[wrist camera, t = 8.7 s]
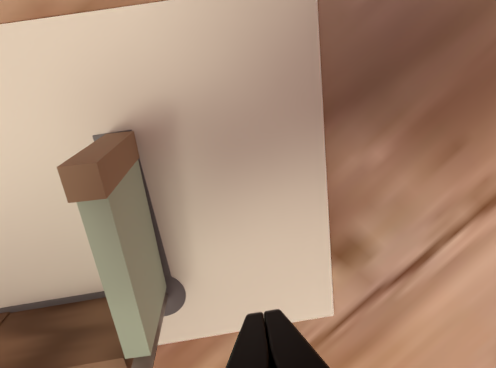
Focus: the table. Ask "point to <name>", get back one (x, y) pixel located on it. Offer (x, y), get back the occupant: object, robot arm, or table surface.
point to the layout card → (173, 155)
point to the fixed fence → (67, 338)
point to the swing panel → (119, 235)
